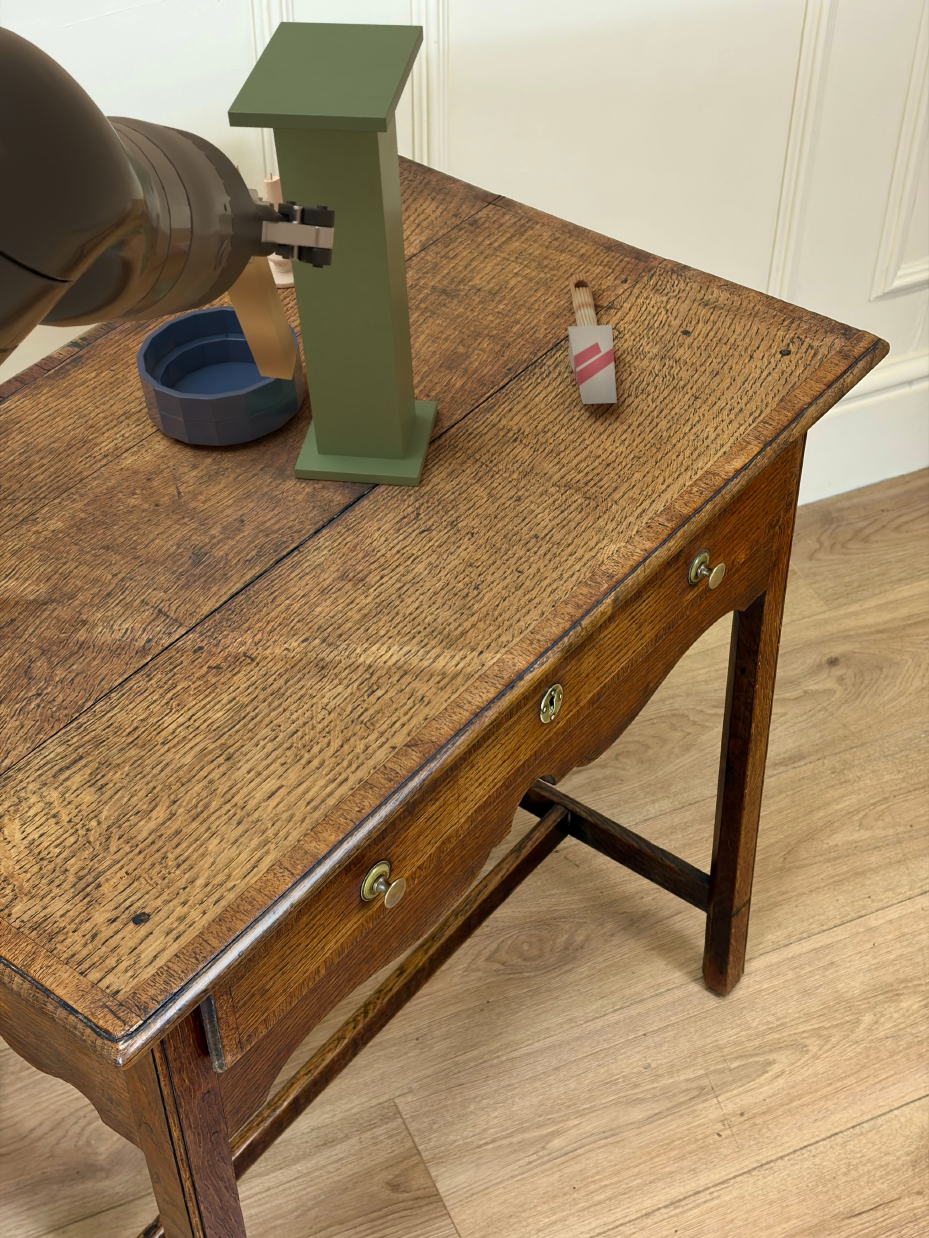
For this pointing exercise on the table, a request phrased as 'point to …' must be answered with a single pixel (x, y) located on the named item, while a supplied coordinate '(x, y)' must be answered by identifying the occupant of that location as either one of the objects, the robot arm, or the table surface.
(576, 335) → the paintbrush
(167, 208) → the robot arm
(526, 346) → the table surface
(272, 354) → the stick
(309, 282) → the stand
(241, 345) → the bowl
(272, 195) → the candle
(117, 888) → the table surface
